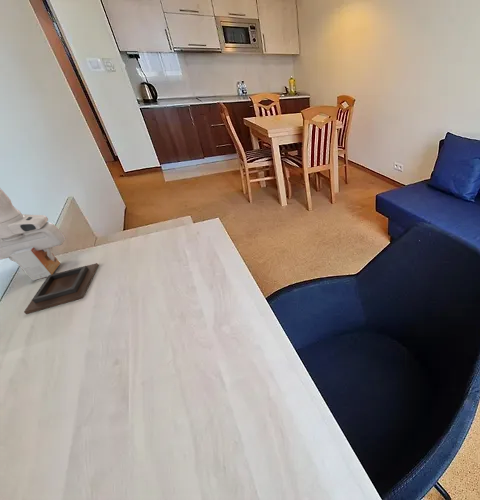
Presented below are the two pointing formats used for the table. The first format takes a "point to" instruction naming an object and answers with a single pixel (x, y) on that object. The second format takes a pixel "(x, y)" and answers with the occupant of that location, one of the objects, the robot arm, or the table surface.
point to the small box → (35, 263)
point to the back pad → (62, 288)
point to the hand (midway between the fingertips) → (39, 262)
